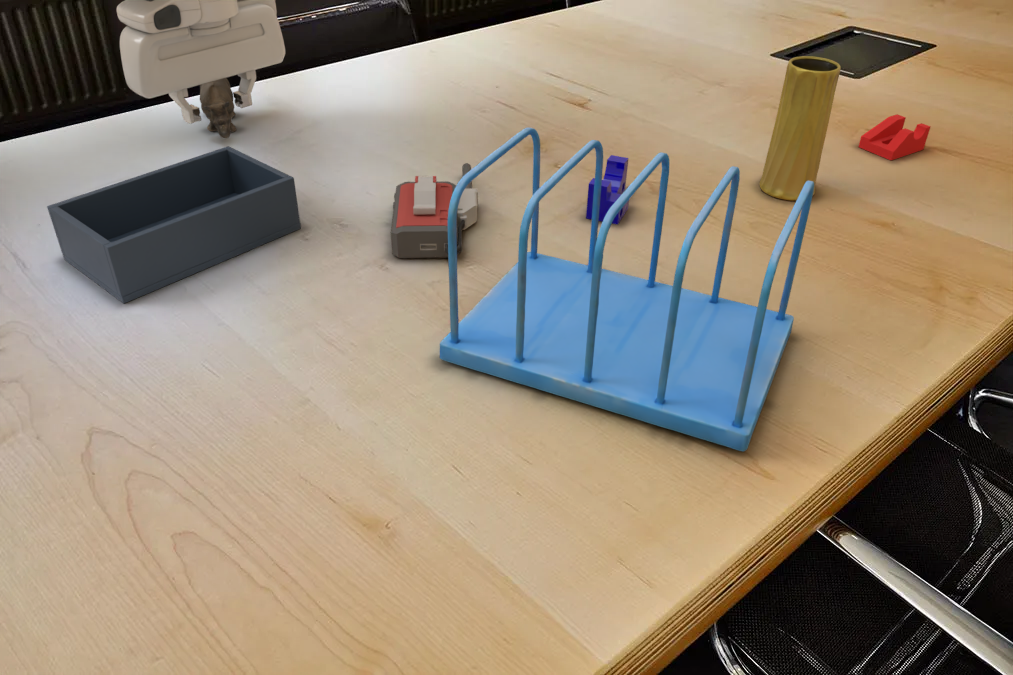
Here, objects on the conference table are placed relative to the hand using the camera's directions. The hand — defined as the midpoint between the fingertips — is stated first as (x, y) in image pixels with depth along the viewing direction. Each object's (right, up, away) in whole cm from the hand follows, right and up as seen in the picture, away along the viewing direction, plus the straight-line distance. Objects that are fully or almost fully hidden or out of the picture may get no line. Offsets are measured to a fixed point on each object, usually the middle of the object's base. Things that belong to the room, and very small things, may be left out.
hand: (218, 113), depth 108 cm
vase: (+68, -12, -11) cm, 70 cm away
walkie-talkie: (+29, -16, -17) cm, 37 cm away
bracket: (+84, -5, 0) cm, 85 cm away
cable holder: (+48, -14, -15) cm, 52 cm away
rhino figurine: (0, -2, +1) cm, 2 cm away
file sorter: (+46, -29, -36) cm, 65 cm away
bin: (+4, -19, -23) cm, 30 cm away
